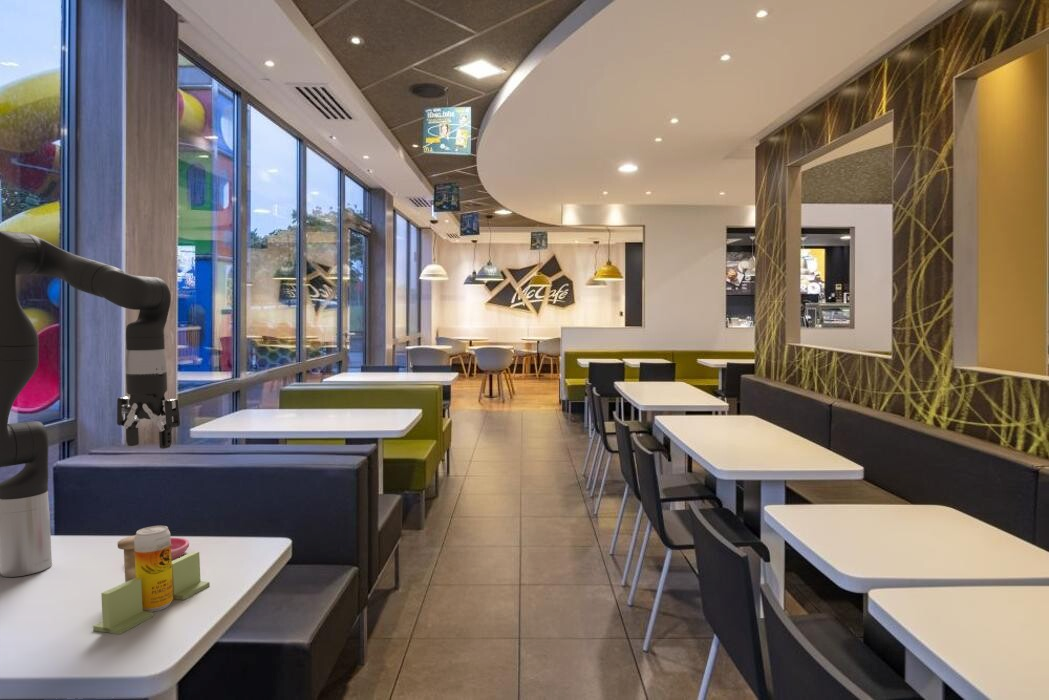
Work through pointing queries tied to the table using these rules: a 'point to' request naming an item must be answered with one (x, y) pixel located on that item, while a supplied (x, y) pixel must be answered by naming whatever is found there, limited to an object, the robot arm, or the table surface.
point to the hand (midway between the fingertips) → (149, 446)
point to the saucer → (178, 547)
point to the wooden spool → (128, 557)
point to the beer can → (154, 567)
